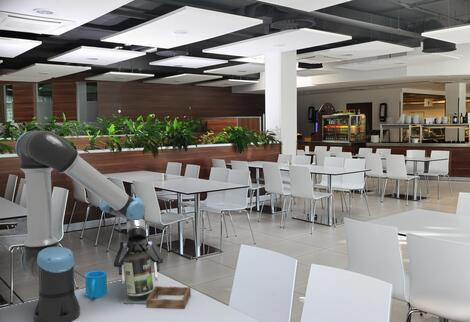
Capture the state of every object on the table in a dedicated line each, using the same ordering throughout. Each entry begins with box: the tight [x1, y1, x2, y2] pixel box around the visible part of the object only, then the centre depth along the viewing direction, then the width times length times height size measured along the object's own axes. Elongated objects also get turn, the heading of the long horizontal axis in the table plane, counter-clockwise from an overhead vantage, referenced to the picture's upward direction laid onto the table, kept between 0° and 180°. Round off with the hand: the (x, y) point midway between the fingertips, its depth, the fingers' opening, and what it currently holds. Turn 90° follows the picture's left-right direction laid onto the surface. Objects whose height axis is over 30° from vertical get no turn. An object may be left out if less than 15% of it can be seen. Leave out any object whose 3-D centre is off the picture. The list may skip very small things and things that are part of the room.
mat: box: [123, 292, 151, 305], centre depth 177 cm, size 9×12×1 cm
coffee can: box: [122, 252, 155, 296], centre depth 177 cm, size 10×10×14 cm
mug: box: [84, 270, 108, 299], centre depth 179 cm, size 12×8×8 cm
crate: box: [145, 286, 191, 310], centre depth 174 cm, size 14×14×3 cm
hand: (140, 280), depth 174 cm, fingers open, 12 cm apart
